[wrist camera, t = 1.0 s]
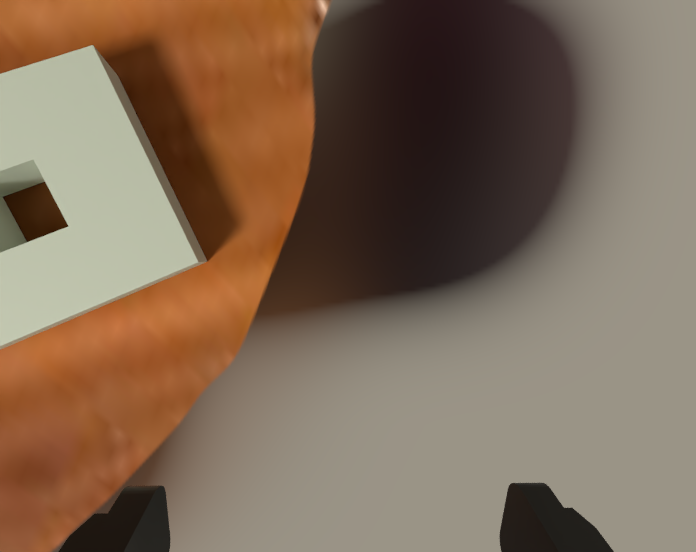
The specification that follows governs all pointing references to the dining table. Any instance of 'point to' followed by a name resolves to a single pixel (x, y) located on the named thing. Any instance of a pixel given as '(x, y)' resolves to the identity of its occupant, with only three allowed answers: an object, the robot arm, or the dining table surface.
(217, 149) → the dining table surface
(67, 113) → the hole block
